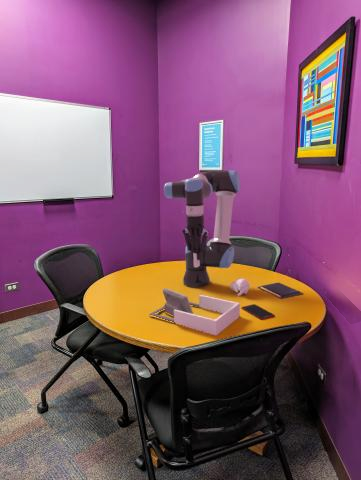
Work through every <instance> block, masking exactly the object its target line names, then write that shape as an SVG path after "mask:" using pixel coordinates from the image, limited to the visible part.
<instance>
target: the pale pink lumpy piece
mask: <svg viewBox="0 0 361 480" xmlns="http://www.w3.org/2000/svg"><path fill="white" fill-rule="evenodd" d="M250 286H251V284H250V282H249V280H247V279H245V277H244V278H243V277H242V278H240V277H239V278H238V279H236V280H235V281H233V282H231V283H230V290H231V292H232V291H233V292H234V291H235V292H236V293H237V296H238V297H239V296H242V295H243V294H244V295H247V294H248V292H249V289H250ZM239 291H240V292H239Z"/></svg>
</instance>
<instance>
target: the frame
mask: <svg viewBox="0 0 361 480" xmlns="http://www.w3.org/2000/svg"><path fill="white" fill-rule="evenodd" d="M189 303H190V305H193V306H197V307H198V306H199V303H197V302H192V301H189ZM193 306H192V307H193ZM197 307H196V308H197ZM198 308H199V307H198ZM163 309H165V305H164V306H162V307H159V308H158V309H156V310H154V311H153V312H151V313H149V315H153V316H156V317H159V318H162V319H165V320H168V321H172V322H174V318H173V317H172V318H171V317H169V316H164V315H160V314H155V313H157V312H159V311H161V310H163ZM149 315H148V316H149Z"/></svg>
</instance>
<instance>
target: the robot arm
mask: <svg viewBox="0 0 361 480" xmlns="http://www.w3.org/2000/svg"><path fill="white" fill-rule="evenodd" d="M240 191H241V178H240V174H239V173H238V171H237V170H230V169H228V170H208V171H205V172H201V173H199V174H196V175H195V176H193V177H190V178H187V179H183V180H180V181H175V182H173V181H171V182H170V181H169V182H166V183H165V184H164V186H163V194H164V197H165V198H167V199H185V209H186V210H185V213H186V228H185V229H182V231H181V232H182V233H183V236H184V240H185V244H186V246H185V253H184V254H185V256H184V257H185V271H184V272H185V273H184V275H183V278H182V279H183V280H182V283H183V286H185V285H187V286H186V287H188V286H190V287H189V288H203V286H204V287H208V286H209V285H210V284H211V279H210V275H209V273H208V270H207V267H208V268H219V269H229V268H230V267H231V266H232V264H233V261H234V258H235V248H234V247H233V246H232V244H233V243H232V242H231V241H230V234H231V225H232V215H233V203H234V198H235V197H236V196H237V193H239V192H240ZM213 192H214V193H215V195H216V197H217V202H216V212H215V220H214V229H213V230H214V232H213V239H211V241H210V243H209V245H208V244H207V240H208V236H209V234H210V231H209V230H207V229H206V228H205V226H204V224H205V223H204V222H205V221H204V219H205V218H204V217H205V216H204V214H205V213H204V212H205V211H204V199H207V198H209V197H210V196H211V195H212V194H213Z"/></svg>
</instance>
